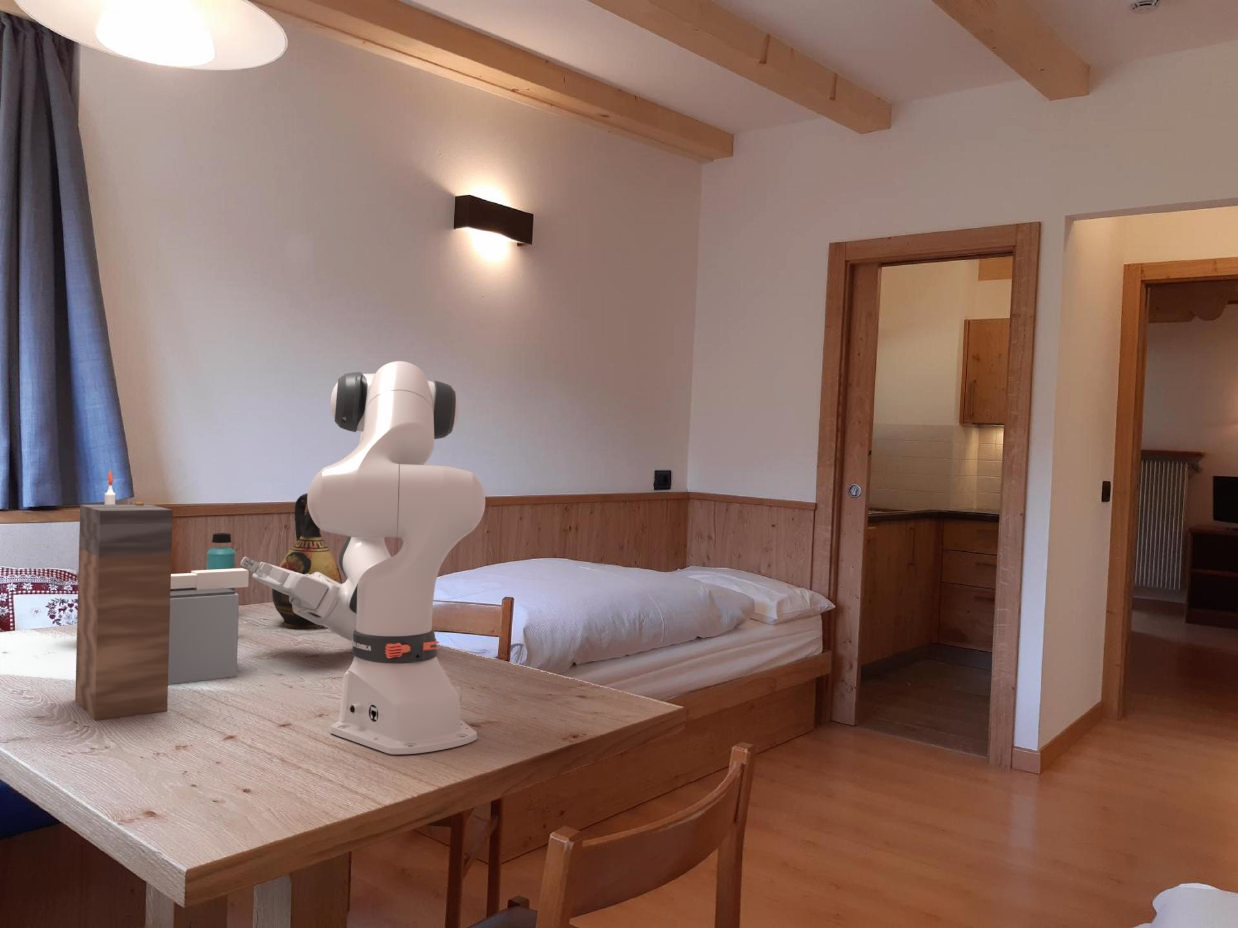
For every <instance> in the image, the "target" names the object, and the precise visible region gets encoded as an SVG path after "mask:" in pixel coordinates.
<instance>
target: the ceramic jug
mask: <svg viewBox="0 0 1238 928" xmlns="http://www.w3.org/2000/svg"><path fill="white" fill-rule="evenodd" d="M307 496H308V492H307V493H303V494H301V495H300V496H299V497H298V498H297V499H296V501H295V505H294V523H295V525H294V526H295V527H294V528H295V539H296V541H295V543H294V545H293V546H292V547H291V548H290V549H289V550H288V553H287V554H286V555H285V556H284V558H283V560H282V562H281V563H280V565H279V566H278V567H281V568H284V569H287V570H290V571H294V572H297V573H301V574H309V575H311V574H312V573H315V572H319V573H321V574H323V575H325V576H327V577H328V578H330V579H332V580H334V581H336V582H338V583H339V584H343V580H342V575H341V572H340V568H339V565H338V564H337V561H336V559H335V557H334V555H333V554H332V552H331V549H330V548H329V546H328V545H327V543H326V542H325V540H324V539H323V536H322V534H321V529H320V528H318V526H317V525H316V524H315V523H314V521H313V519H312V518H311V515H310V513H309V509H308V508H307V511H306V507H307V505H308V504H307ZM305 511H306V512H305ZM271 598H272V602H273V604H274V607H275V610H276V611H277V612H278V613H279V615H280V616H281V618H282V619H283V626H284V627H287V628H289V629H293V630H296V629H297V630H298V629H304V630H313V629H315V630H316V629H318V628H325V626H323V625H318V624H315V623H313V622H311V621H309V620H307V619H305V618H303V617H301V616H300V615H298V614H296V613H294V612H293V609H292V604H291V603H290V602H289V595H286V594H283V593H281V592H279V591H277V590H275V589H273V588H271Z"/></svg>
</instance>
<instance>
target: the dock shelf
mask: <svg viewBox="0 0 1238 928" xmlns="http://www.w3.org/2000/svg"><path fill="white" fill-rule="evenodd" d="M239 604H240V594H238V593H236V591H235V590H234V591H233V590H230V589H228V588H221V589H204V590H196V589H194V588H179V589H171V591H170V629H169V667H168V685H175V684H185V683H192V682H200V681H209V680H218V679H227V678H233V677H235V678H236V677H238V645H239V643H238V642H239V615H240V614H239V612H240V609H239V607H240V605H239Z"/></svg>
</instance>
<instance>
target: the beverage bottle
mask: <svg viewBox="0 0 1238 928" xmlns="http://www.w3.org/2000/svg"><path fill="white" fill-rule="evenodd" d="M211 543H215V544H228V543H229V544H230V543H232V535H231V533H227V532H226V533H225V532H217V533H213V534H212V540H211ZM236 566H237V565H236V551H235V550H234V549H233V548H232V547H227V546H222V547H221V546H220V547H211V548H210V549H209V550H208V551H207V552H206V570H216V569H236ZM228 589H230V590H233V591H235V590H236V589H235V588H228Z"/></svg>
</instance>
